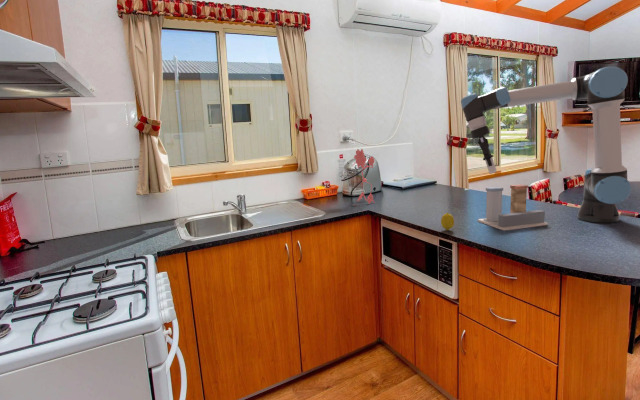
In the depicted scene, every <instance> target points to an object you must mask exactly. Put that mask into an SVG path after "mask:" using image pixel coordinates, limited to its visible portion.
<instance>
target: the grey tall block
mask: <svg viewBox="0 0 640 400" xmlns="http://www.w3.org/2000/svg"><path fill="white" fill-rule="evenodd" d="M485 191H486V205H485V207H486V208H485V210H486V211H485V218H486V219H487V220H490V221H498V219H499V215H502V210H503V209H502V208H503V206H502V205H503V191H504V188H503V187H499V186H492V187H490V186H489V187H485Z"/></svg>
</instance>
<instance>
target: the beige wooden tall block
mask: <svg viewBox="0 0 640 400" xmlns="http://www.w3.org/2000/svg"><path fill="white" fill-rule="evenodd" d="M509 186H510V187H509V189H510V210H509V211H510V213H519V212H527V196H528V195H527V191H528V188H529V185H527V184H520V183H519V184H511V185H509ZM510 213H509V214H510Z"/></svg>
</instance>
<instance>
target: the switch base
mask: <svg viewBox="0 0 640 400" xmlns="http://www.w3.org/2000/svg"><path fill="white" fill-rule="evenodd" d="M545 214H546V211H545V210H543V209H542V210H541V209H537V210H536V209H535V210H529V211H527V210H526V212H519V213H505V214H504V213H503V214H501V215H499V219H498V221H490V220H487V219H486V217H485V218H477V222H478V223H481V224H483V225H484V224H485V225H487V226H490V227H493V228H496V229H498V230H501V231H512V230H519V229H525V228H526V229H527V228H534V227H535V228H536V227H541V226H547V225H548V222H546V221H545V218H546V217H545V216H546V215H545Z"/></svg>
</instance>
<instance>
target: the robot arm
mask: <svg viewBox="0 0 640 400" xmlns="http://www.w3.org/2000/svg"><path fill="white" fill-rule="evenodd" d="M628 80H629V79H628V75H627V73H626V71H624V70H623V69H622V68H621V67H617V66H603V67H601V68H598V69H597V70H594V71H593V72H591V73H589V74H585V75H583V76H577V77H573V78H571V80H569V81H568V80H567V81H562V82H555V83H548V84H542V85H536V86H530V87H524V88H516V89H510V90H509V89H508V87H506V86H502V87H499V88H496V89H494V90H492V91H490V92H487V93H484V94H482V95H479V96H478V94H477V93H471V94H469V95H466V96H464V97H462V98H461V100H460V104H461V108H462V111H463V114H464V117H465V120H466V123H467V124H466V127H467V128H469V131H470V136H471V137H472V138H471V139H473V140H474V139H478V142H477V143H478V145H479V148H480V150H482V151H481V152H482V155H483V158H482V160H483V161H485V164H486V166H487V167H486V168H487V170H488V173H489V175H491V174H495V173H497V168H496V165H495V161H494V159H493V158H494V154H491V150H490V144H489V140H488V138H486V137H485V136H486V135H489V134H490V130H489V127H488V126H487V124H488V122H487V120H486V117H485V115H484V114H485V113H486V112H488V111H491V110H498V109H503V108H509V107H517V106H518V107H519V106H525V105H532V104H539V103H547V102H553V101H554V102H555V101H561V100H570V99H572V100H573V101H578V100H579V101H580V100H587V106H588V107H589V108H591V110H592V125H593V145H594V146H593V148H594V149H593V150H594V167H593V168H588V169H586V170H585V172H584V175H583V176H584V182H583V186H584V187H583V198H582V203H581V205H580V207H579V209H578V211H577V216H576V217H577V219H579V220H581V221H585V222H590V223H600V224H602V223H603V224H607V223H608V224H610V223H611V224H612V223H618V222H619V221H620V213H619V210H618V207H617V204H619V203H622V202H624V201H625V200H627V199H628V198H629V197H630V195H631V194H632V184H631V183H630V180H628V168H627V167H625V166H624V165H623V162H622V161H623V160H622V159H623V157H622V154H623V153H622V134H621V133H622V131H621V130H622V129H621V127H622V126H621V106H620V105H621V104H622V103H623V102H624V101H625V99H626V98H625V89H626V87H627V86H628Z"/></svg>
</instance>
